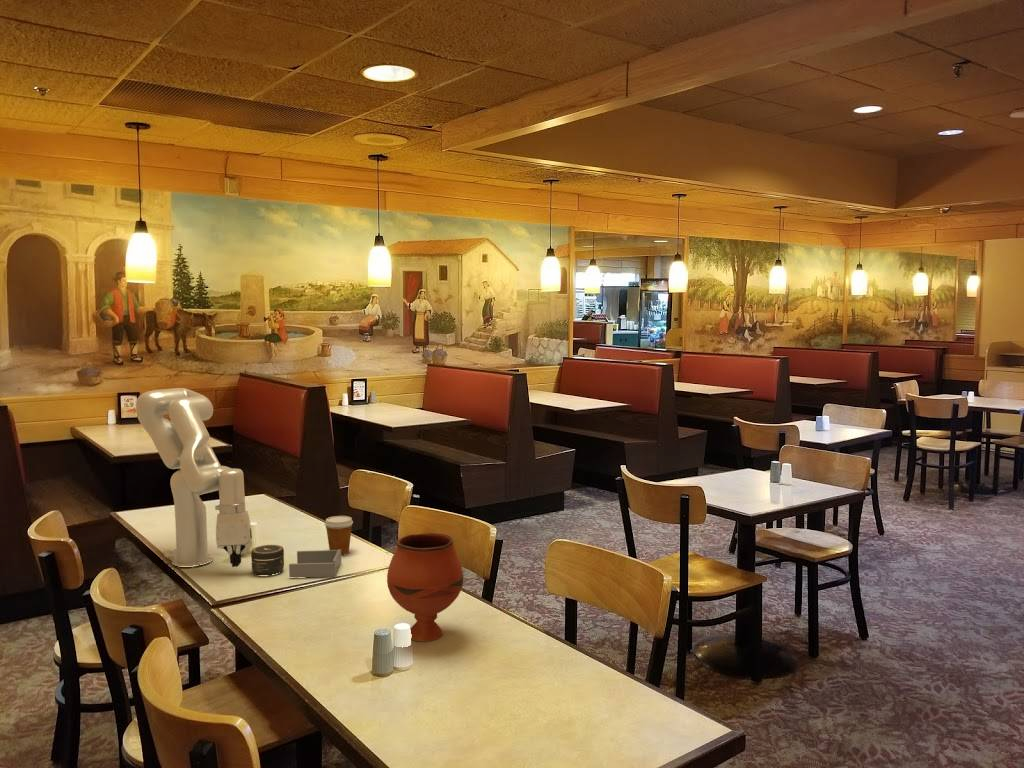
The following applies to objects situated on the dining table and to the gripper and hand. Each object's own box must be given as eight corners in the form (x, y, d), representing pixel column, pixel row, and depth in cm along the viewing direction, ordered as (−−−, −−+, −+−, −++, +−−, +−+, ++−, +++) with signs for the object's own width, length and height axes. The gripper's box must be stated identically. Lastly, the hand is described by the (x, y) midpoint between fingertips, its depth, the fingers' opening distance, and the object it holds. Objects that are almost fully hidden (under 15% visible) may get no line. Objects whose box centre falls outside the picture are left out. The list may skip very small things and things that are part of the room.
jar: (274, 578, 246) (274, 554, 245) (245, 576, 248) (244, 552, 247) (290, 568, 256) (289, 545, 255) (261, 566, 258) (261, 543, 257)
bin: (289, 578, 245) (289, 563, 245) (297, 564, 259) (297, 549, 259) (335, 577, 247) (334, 561, 246) (341, 563, 260) (340, 548, 260)
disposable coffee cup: (350, 557, 266) (349, 522, 265) (322, 557, 267) (321, 522, 265) (356, 549, 276) (355, 515, 275) (329, 549, 276) (328, 515, 275)
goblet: (474, 625, 209) (474, 533, 206) (444, 655, 191) (443, 554, 188) (409, 616, 215) (408, 526, 213) (374, 644, 197) (372, 546, 195)
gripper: (204, 512, 244) (208, 570, 246) (254, 510, 246) (257, 567, 247) (211, 506, 252) (215, 563, 253) (259, 504, 253) (262, 560, 254)
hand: (236, 565), depth 250 cm, fingers closed
